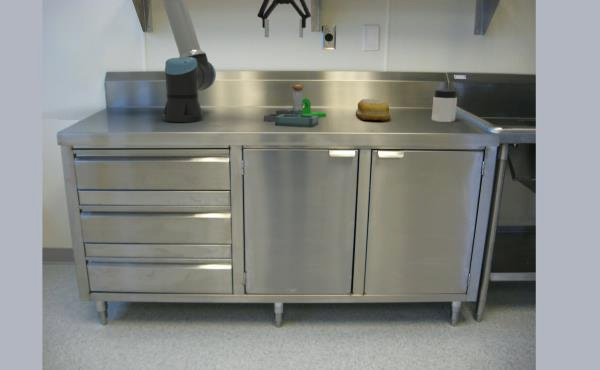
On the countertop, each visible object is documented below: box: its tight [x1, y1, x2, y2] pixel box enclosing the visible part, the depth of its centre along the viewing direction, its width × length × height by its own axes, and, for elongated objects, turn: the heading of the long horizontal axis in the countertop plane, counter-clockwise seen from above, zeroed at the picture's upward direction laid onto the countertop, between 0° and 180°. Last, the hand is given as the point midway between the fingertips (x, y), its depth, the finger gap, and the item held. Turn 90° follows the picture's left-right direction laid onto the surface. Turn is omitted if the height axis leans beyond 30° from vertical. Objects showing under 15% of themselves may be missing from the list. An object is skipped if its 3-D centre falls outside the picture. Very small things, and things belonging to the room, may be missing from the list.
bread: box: [355, 98, 391, 122], centre depth 201 cm, size 13×26×8 cm, turn 179°
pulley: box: [275, 105, 293, 115], centre depth 201 cm, size 9×9×4 cm
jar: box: [431, 89, 458, 123], centre depth 194 cm, size 9×8×12 cm
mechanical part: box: [302, 97, 327, 119], centre depth 200 cm, size 12×6×8 cm, turn 129°
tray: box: [274, 114, 319, 128], centre depth 179 cm, size 13×9×3 cm
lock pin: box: [291, 84, 305, 118], centre depth 177 cm, size 4×4×13 cm
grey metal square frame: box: [263, 113, 282, 123], centre depth 190 cm, size 7×7×2 cm
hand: (283, 37), depth 189 cm, fingers open, 13 cm apart
